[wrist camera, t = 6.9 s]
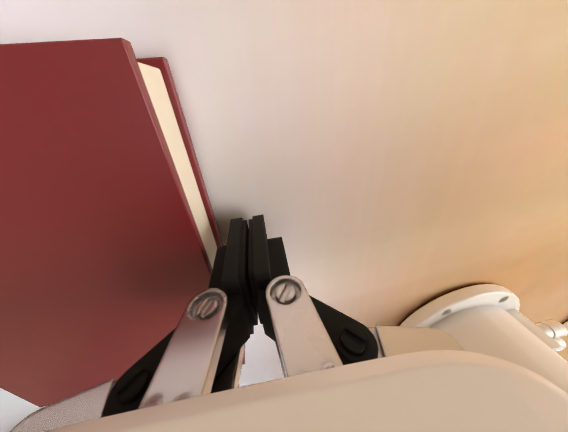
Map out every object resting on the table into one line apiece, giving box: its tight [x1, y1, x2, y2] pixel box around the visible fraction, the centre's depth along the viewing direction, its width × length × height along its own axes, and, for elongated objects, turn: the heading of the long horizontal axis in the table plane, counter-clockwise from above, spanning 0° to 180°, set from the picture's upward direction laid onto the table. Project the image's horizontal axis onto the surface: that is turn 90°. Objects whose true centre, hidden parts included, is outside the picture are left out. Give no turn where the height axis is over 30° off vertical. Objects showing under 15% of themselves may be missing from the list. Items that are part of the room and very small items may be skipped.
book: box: [0, 38, 245, 407], centre depth 9 cm, size 12×16×3 cm
